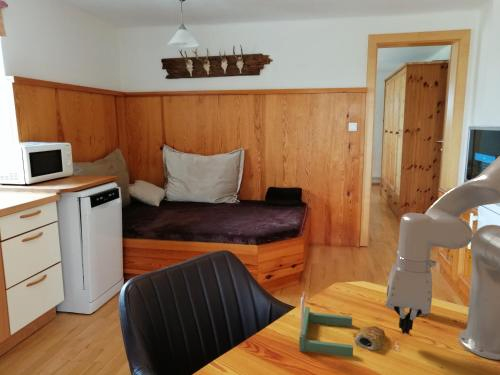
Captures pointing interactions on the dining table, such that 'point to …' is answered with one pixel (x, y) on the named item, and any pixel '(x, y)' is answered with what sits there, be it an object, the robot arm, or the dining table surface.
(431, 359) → the dining table surface
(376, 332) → the pastry
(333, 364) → the dining table surface
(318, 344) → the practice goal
